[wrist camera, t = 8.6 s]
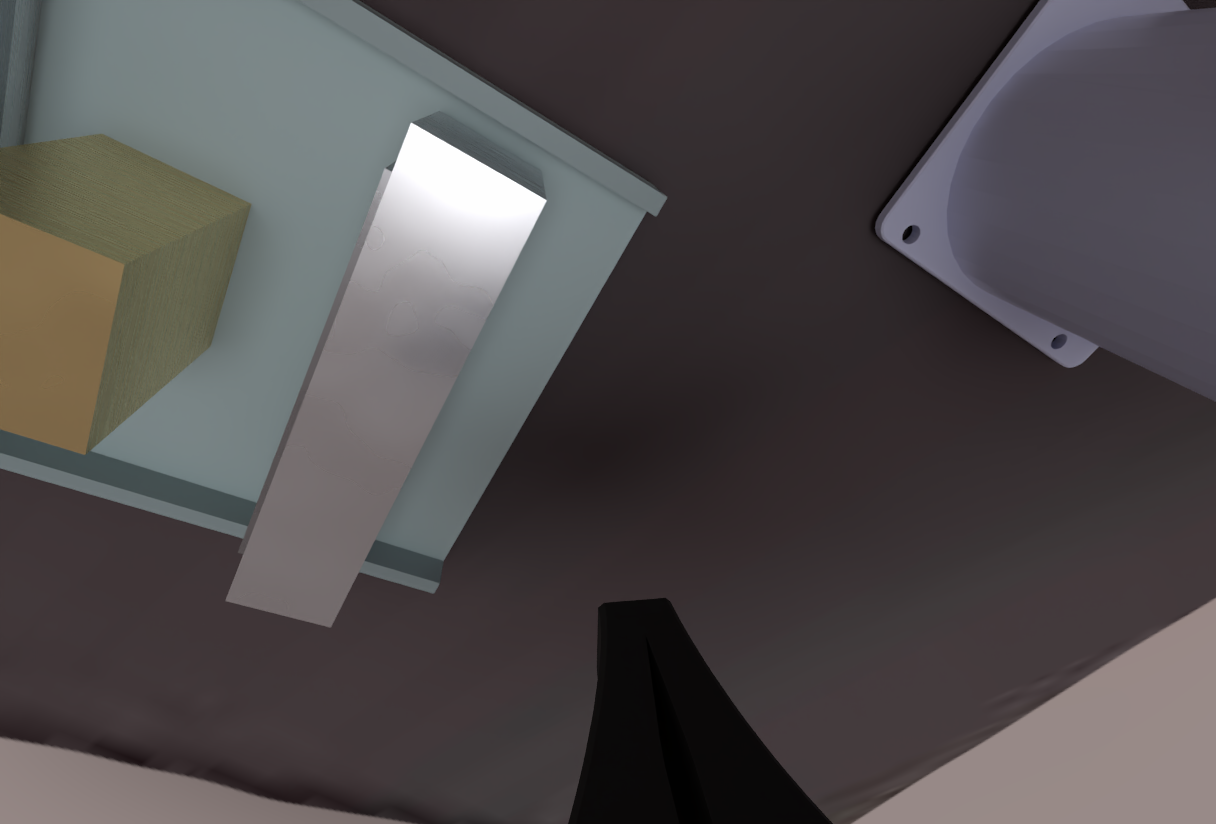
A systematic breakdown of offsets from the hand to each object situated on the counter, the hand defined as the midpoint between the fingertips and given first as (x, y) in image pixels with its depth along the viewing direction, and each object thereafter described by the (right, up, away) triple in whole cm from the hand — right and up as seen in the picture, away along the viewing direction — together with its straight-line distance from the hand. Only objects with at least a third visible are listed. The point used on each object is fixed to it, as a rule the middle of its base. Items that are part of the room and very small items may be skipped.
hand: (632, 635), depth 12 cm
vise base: (-9, +8, +4) cm, 13 cm away
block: (-11, +8, +2) cm, 14 cm away
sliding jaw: (-6, +6, +4) cm, 9 cm away
